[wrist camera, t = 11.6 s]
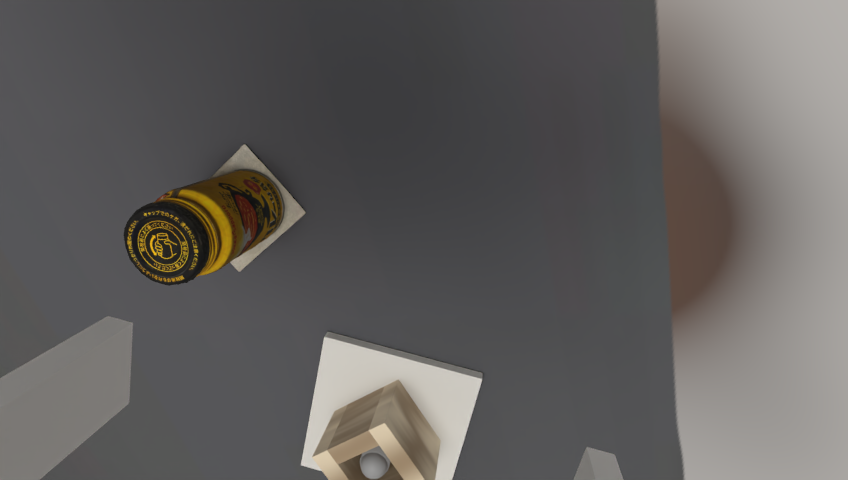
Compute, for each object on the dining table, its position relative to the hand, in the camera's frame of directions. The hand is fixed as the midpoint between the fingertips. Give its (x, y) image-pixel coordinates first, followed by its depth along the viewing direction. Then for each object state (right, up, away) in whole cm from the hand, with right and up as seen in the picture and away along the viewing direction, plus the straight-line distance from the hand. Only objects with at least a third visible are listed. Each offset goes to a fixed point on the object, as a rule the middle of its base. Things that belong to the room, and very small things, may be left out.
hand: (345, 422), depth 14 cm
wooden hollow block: (-1, -12, +30) cm, 33 cm away
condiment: (-13, +8, +28) cm, 32 cm away
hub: (-1, -11, +31) cm, 33 cm away
